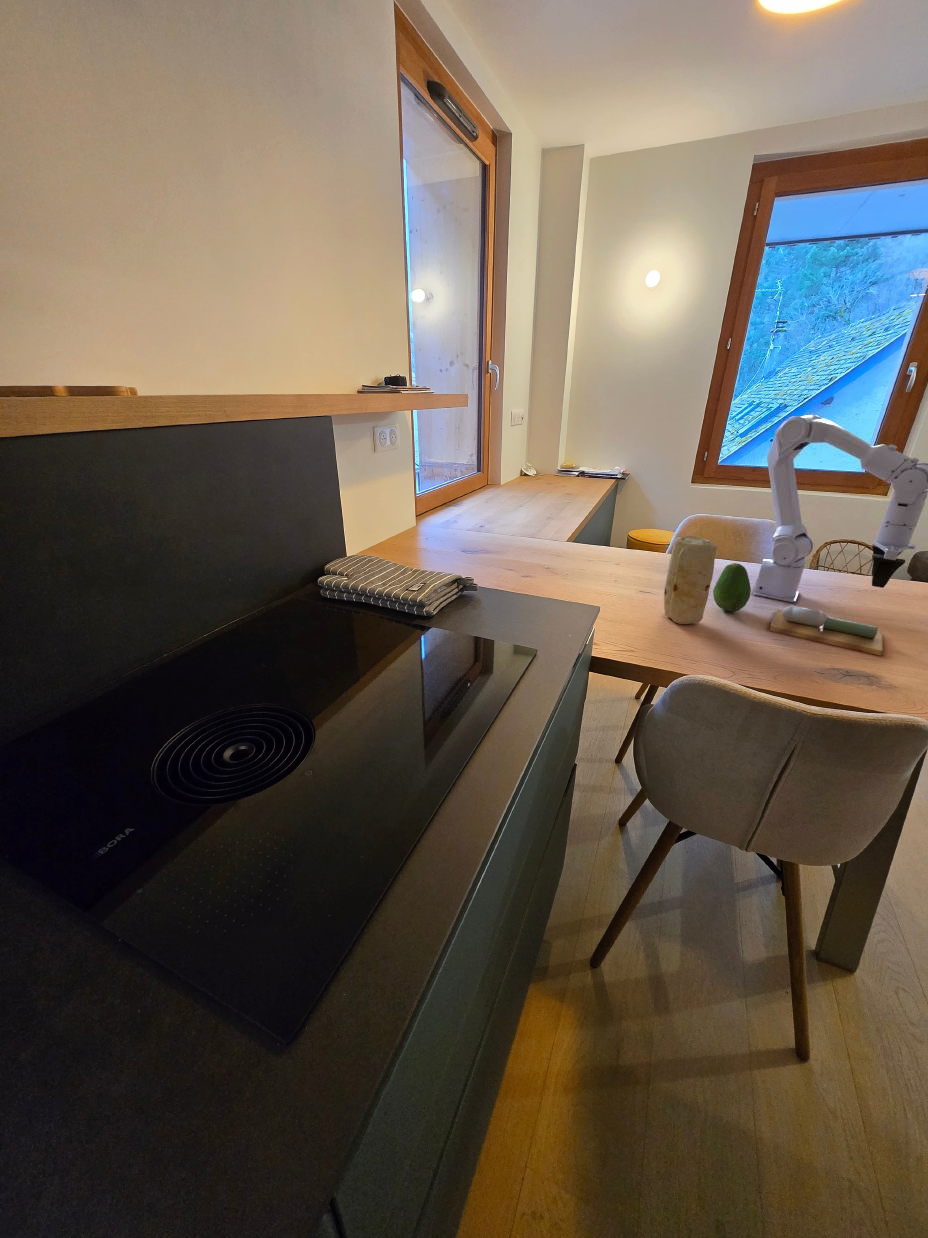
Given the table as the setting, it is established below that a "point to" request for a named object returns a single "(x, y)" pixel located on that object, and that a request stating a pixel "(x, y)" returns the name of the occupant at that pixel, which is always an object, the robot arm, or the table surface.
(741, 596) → the avocado
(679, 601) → the food model
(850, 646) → the board
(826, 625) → the green-handled cylinder
